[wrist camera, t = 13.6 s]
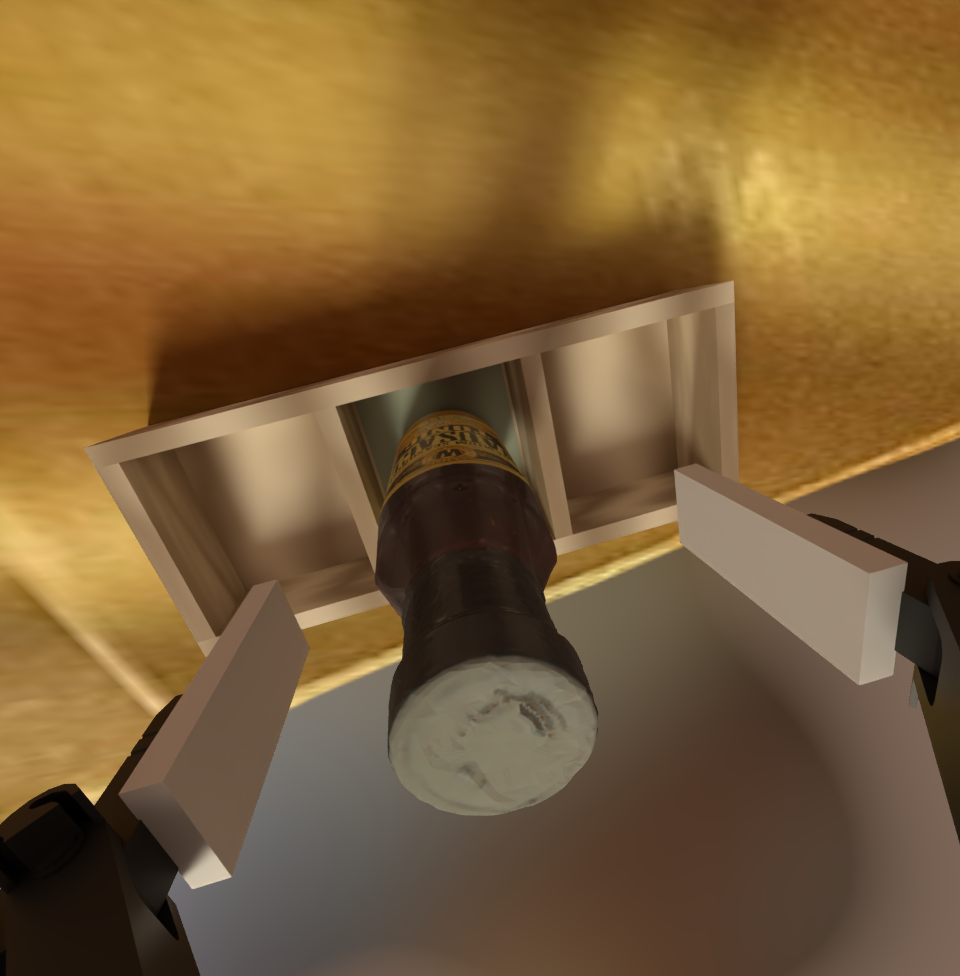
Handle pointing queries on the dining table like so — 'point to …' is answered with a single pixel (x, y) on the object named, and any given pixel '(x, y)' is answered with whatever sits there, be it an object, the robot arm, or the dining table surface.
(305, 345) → the dining table surface
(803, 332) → the dining table surface
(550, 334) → the condiment rack
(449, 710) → the sauce bottle
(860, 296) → the dining table surface
